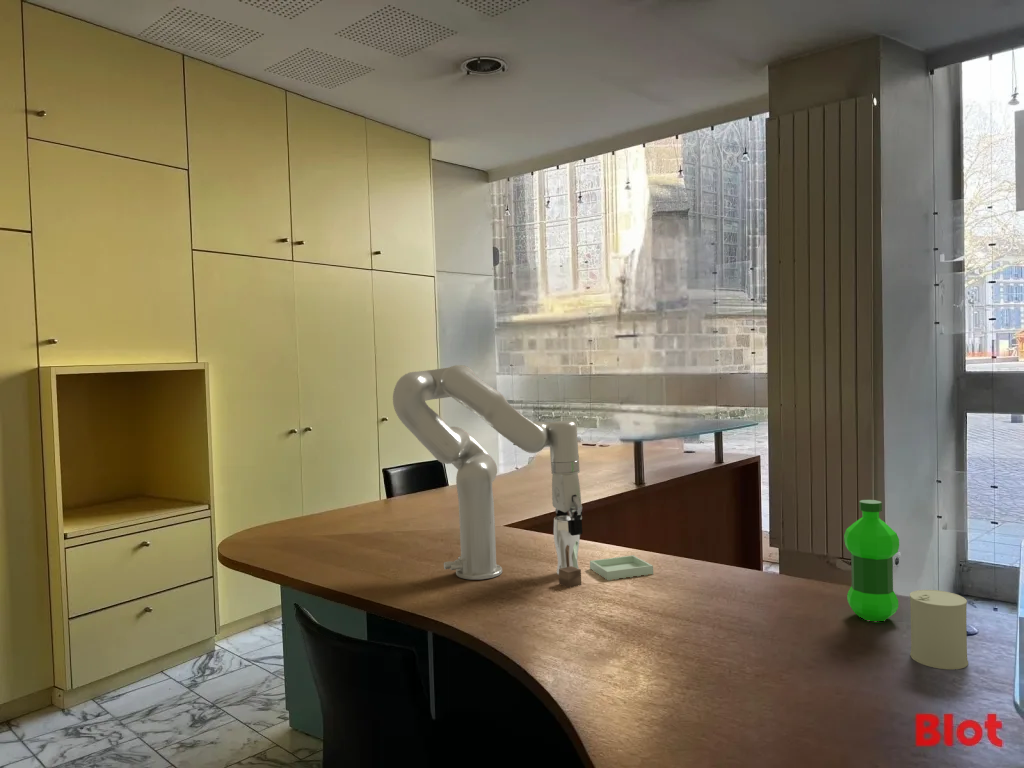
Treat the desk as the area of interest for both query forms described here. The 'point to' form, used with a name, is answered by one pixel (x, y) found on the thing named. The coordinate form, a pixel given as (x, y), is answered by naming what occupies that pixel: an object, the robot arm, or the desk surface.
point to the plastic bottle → (872, 564)
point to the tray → (621, 567)
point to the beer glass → (565, 543)
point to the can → (938, 629)
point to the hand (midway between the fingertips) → (569, 530)
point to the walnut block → (570, 576)
